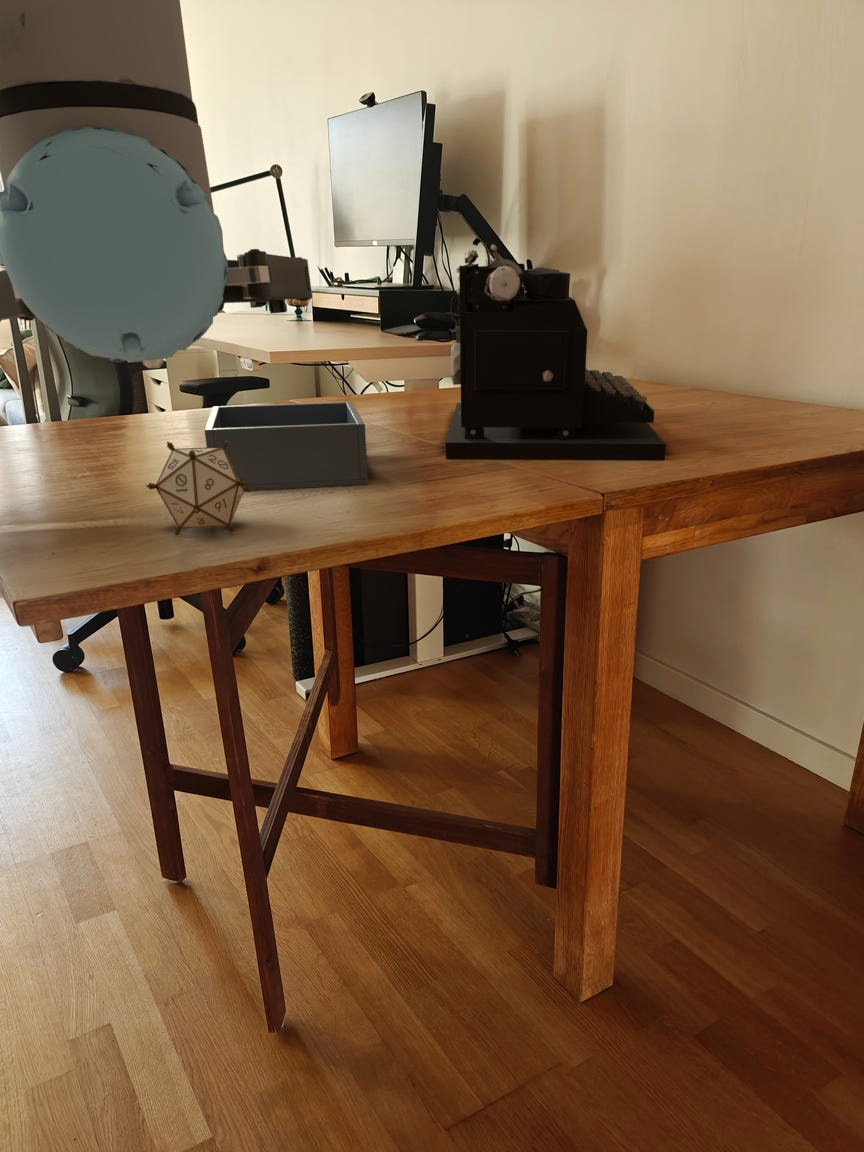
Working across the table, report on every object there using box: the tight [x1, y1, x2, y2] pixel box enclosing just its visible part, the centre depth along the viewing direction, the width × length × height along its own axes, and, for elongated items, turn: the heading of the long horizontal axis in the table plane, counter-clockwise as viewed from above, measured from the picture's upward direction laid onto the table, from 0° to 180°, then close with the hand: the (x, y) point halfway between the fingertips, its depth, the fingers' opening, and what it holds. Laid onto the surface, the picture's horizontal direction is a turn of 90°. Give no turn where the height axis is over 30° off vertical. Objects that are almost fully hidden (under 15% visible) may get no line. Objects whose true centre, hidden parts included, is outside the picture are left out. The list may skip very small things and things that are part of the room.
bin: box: [204, 401, 369, 491], centre depth 99 cm, size 17×16×7 cm
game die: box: [145, 439, 254, 537], centre depth 78 cm, size 9×8×10 cm
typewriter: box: [445, 237, 667, 461], centre depth 116 cm, size 31×27×25 cm
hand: (157, 294), depth 63 cm, fingers open, 13 cm apart
